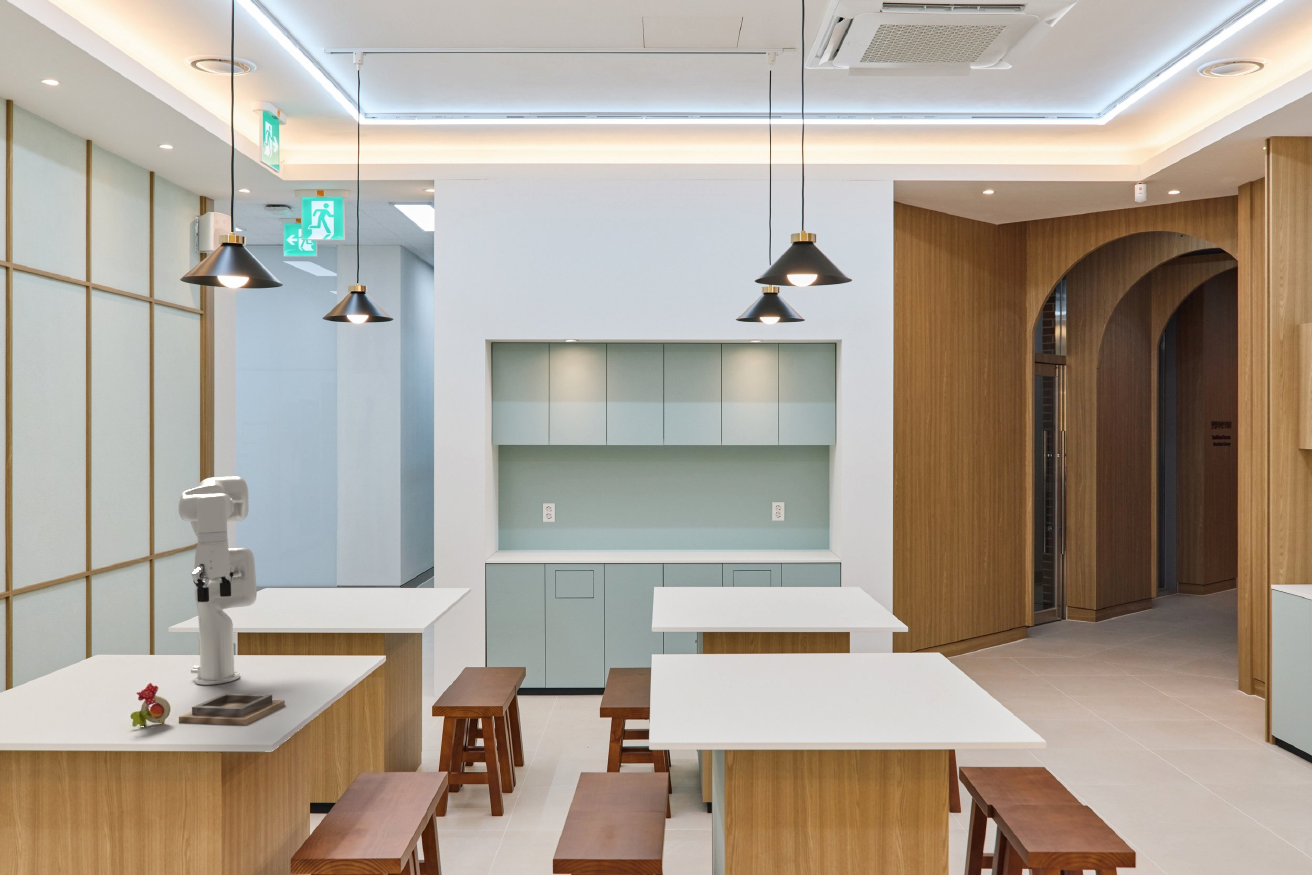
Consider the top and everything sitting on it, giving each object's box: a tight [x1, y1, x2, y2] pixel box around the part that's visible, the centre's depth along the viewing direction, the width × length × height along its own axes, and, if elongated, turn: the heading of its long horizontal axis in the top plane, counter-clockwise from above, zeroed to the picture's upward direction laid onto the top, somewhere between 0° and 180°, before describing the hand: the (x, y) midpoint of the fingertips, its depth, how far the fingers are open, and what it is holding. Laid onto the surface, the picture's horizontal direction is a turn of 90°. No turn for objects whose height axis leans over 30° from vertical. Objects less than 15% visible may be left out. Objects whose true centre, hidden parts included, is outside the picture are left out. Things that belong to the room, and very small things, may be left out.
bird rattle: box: [130, 682, 171, 727], centre depth 239 cm, size 6×11×9 cm
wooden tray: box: [178, 692, 286, 726], centre depth 246 cm, size 20×17×4 cm
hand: (214, 598), depth 255 cm, fingers open, 9 cm apart
